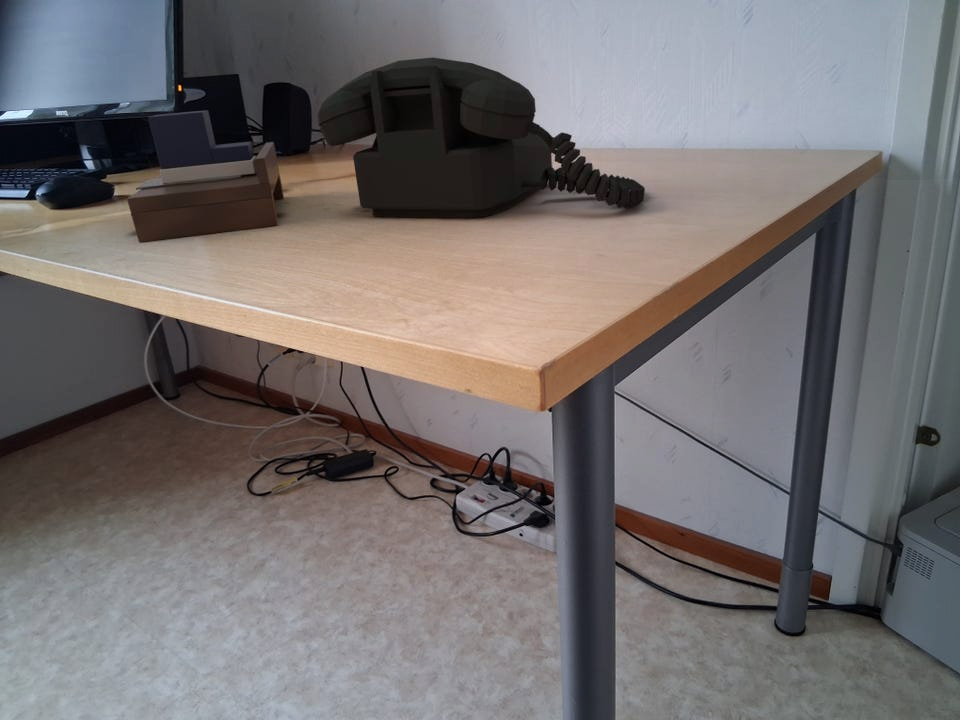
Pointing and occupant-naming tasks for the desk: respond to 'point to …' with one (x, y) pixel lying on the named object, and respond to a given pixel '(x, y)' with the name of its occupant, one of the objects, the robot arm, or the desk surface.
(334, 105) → the rotary telephone
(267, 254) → the desk surface
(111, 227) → the desk surface
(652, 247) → the desk surface
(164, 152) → the trainer
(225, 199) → the shoe shelf
